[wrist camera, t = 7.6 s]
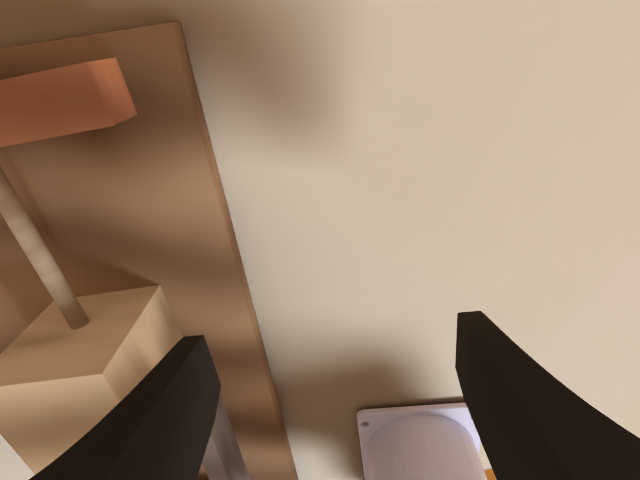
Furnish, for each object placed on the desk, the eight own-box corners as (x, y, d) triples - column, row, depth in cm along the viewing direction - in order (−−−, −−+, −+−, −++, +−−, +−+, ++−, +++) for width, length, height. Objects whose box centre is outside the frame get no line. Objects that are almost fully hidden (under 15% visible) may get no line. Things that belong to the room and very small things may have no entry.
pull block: (246, 362, 23) (221, 461, 18) (57, 385, 25) (-18, 484, 19) (134, 54, 16) (33, 69, 10) (-133, 110, 17) (-344, 150, 12)
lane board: (301, 490, 31) (297, 542, 28) (104, 500, 32) (80, 551, 29) (180, 22, 16) (143, 21, 13) (-179, 76, 17) (-290, 88, 14)
